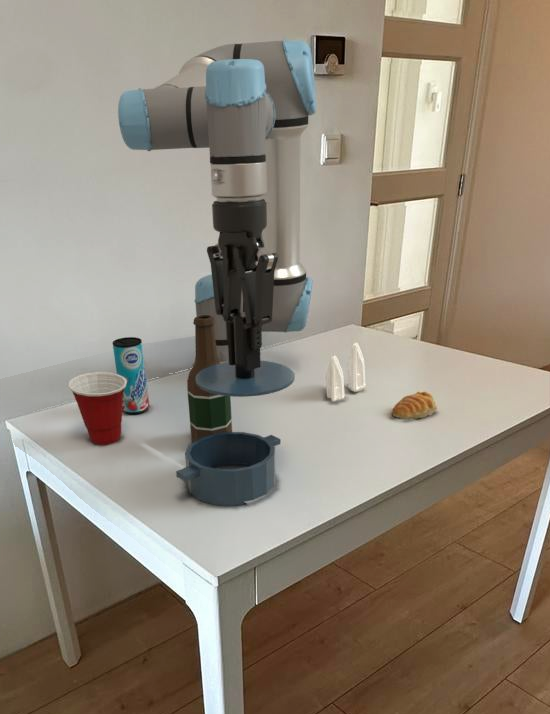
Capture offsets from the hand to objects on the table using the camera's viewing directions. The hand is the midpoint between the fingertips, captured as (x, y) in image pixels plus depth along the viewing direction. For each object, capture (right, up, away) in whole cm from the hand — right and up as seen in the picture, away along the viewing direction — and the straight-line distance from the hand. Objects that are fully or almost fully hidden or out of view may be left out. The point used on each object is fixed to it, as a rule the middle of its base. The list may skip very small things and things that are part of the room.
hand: (244, 365), depth 98 cm
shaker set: (+23, +3, +41) cm, 47 cm away
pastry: (+35, -3, +31) cm, 47 cm away
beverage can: (-23, -1, +38) cm, 45 cm away
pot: (-2, -18, +8) cm, 20 cm away
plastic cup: (-27, -9, +26) cm, 38 cm away
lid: (0, -2, +1) cm, 2 cm away
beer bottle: (-6, -10, +22) cm, 25 cm away
